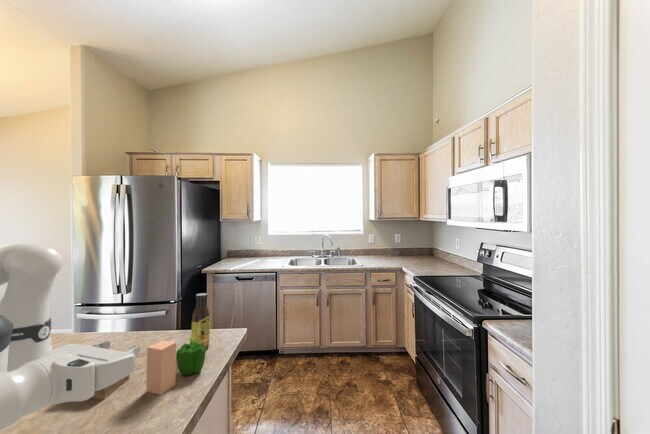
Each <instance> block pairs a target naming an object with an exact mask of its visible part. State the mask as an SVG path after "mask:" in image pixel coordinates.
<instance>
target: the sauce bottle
mask: <svg viewBox="0 0 650 434" xmlns="http://www.w3.org/2000/svg"><path fill="white" fill-rule="evenodd" d="M208 298H209V296H208V293H207V292H206V293H205V292H203V293H197V294H195V308H194V309H193V312H192V315H191V318H192V319H191V332H190V335H191V336H190V337H193V342H197V343H199V344H204V345H205V347H206V350H208V348H209V346H210V338H211V337H210V335H211V332H210V331H211V313H210V311H209V307H208Z"/></svg>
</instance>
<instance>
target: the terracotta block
mask: <svg viewBox="0 0 650 434" xmlns="http://www.w3.org/2000/svg"><path fill="white" fill-rule="evenodd" d="M146 348H147V349H146V392H148V393H150V394H151V393H153V394H156V395H162V394H164V393H165V392H167V391H169V390H170V389H171V388H172V387H174V386H176V374H177V373H176V370H177V368H176V365H177V361H176V353H177V342H175V341H168V340H160V341H158V342H156V343H153V344H152V345H149V346H147V347H146Z"/></svg>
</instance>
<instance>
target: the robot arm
mask: <svg viewBox="0 0 650 434" xmlns="http://www.w3.org/2000/svg"><path fill="white" fill-rule="evenodd" d="M63 261H64V260H63V257H62V255H61V254H60V253H59V252H58V251H57V250H55V249H53V248H52V247H49V246H46V245H36V244H24V243H23V244H22V243H18V244H17V243H16V244H11V245H8V246H4V247H1V248H0V286H4V285H5V284H7V285H6V288H5V291H4V295H3V297H2V298H1V300H0V431H2V430H4V429H6V428H9V427H11V426H12V425H14V424H15V423H16V422H18V421H19V420H20V419H22V418H23V417H25V416H27V415H29V414H31V413H35V412H38V411H41V410H43V409H45V408H47V407H49V406H51V405H58V404H62V403H72V402H85V401H88V400H87V399H89V398H91V397H93V396H94V392H95V391H97V390H101V389H104V388H106V387H108V386H110V385H112V384H114V383H116V382H117V381H119V380H121V379H123V378H124V377H126V376H128V375H129V376H130V374H132V373H134V370H135V368H136V356H138V355H139V354H140V353H141V346H140V345H133V346H130V347H128V351H121V350H114V349H111V341H108V340H103V341H101V342H96V343H91V344H87V345H86V344H82V343H81V344H80V343H74V342H73V343H68V344H64V345H62V346H59V347H56V348H54V349H53V346H52V339H51V331H52V319H51V318H50V313H51V312H50V311H51V310H50V309H51V294H52V290H53V286H54V283H55V280H56V277H57V275H58V274H59V272H60V271H61V269H62V267H63V263H64V262H63Z"/></svg>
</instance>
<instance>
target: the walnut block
mask: <svg viewBox="0 0 650 434" xmlns="http://www.w3.org/2000/svg"><path fill="white" fill-rule="evenodd" d="M128 380H130V374H129V375H128V376H126V377H124V378H123V379H121V380H119V381H117V382H116V383H114V384H112V385H110V386H108V387H106V388H104V389H101V390H97V391H95V392H94V396H93V397H91V398H89V399H87V400H86V401H88V400H105V399H107V398H108V397H109V396H110V395H112V394H113V393H114V392H115V391H116V390H118V389H119V388H120V387H121V386H122V385H123V384H125V383H126V382H127V381H128Z"/></svg>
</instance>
